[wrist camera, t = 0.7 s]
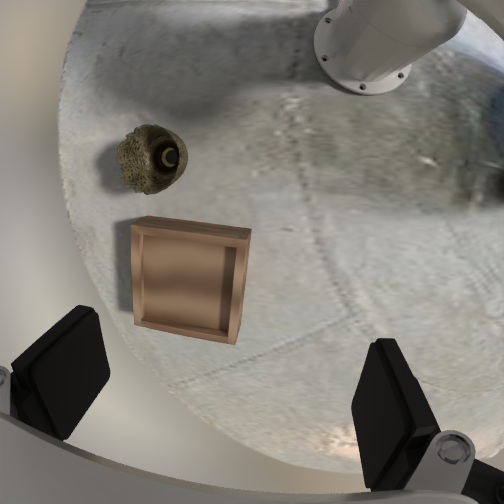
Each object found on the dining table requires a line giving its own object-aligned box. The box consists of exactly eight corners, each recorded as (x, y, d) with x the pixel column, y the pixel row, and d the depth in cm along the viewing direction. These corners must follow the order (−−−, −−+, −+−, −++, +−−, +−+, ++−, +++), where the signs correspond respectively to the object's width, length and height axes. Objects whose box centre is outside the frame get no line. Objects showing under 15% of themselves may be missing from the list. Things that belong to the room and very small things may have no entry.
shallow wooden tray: (148, 215, 41) (130, 224, 35) (251, 228, 40) (246, 240, 34) (149, 306, 45) (134, 324, 40) (240, 323, 44) (235, 344, 39)
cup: (142, 135, 37) (111, 133, 29) (195, 122, 36) (173, 116, 28) (150, 190, 39) (121, 200, 31) (204, 181, 38) (184, 189, 30)
